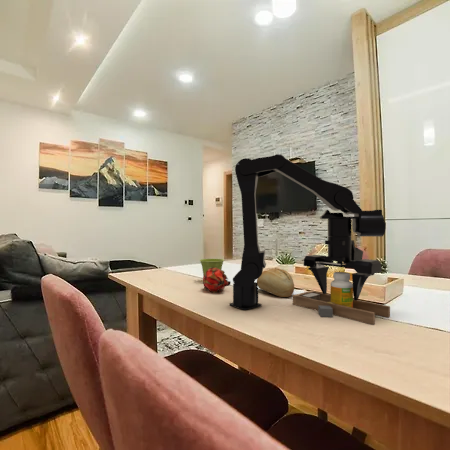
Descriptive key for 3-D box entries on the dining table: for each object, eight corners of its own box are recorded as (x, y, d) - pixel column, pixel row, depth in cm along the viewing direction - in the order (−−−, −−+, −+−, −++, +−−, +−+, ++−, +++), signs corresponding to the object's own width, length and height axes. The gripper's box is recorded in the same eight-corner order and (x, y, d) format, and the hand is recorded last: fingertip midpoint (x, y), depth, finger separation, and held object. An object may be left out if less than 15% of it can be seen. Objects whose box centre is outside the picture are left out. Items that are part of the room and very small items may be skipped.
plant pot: (202, 279, 120) (202, 258, 120) (225, 280, 119) (225, 258, 119) (197, 284, 111) (197, 261, 111) (222, 284, 110) (222, 261, 110)
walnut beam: (372, 324, 66) (372, 312, 66) (292, 304, 83) (292, 294, 83) (390, 316, 71) (390, 305, 71) (311, 298, 88) (311, 289, 88)
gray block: (332, 317, 71) (332, 308, 71) (320, 316, 71) (320, 308, 71) (329, 313, 74) (329, 305, 74) (318, 313, 74) (318, 305, 74)
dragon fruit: (211, 291, 106) (223, 304, 95) (193, 278, 103) (203, 291, 92) (225, 271, 107) (238, 282, 96) (207, 259, 104) (219, 268, 93)
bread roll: (272, 287, 105) (272, 265, 105) (302, 296, 92) (302, 270, 92) (249, 290, 100) (249, 267, 100) (279, 300, 87) (278, 273, 87)
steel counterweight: (309, 305, 81) (309, 297, 81) (301, 304, 83) (301, 295, 83) (319, 302, 84) (319, 294, 84) (312, 301, 86) (312, 292, 86)
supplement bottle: (342, 315, 73) (342, 275, 73) (326, 309, 78) (326, 272, 78) (357, 312, 75) (357, 273, 75) (340, 306, 80) (340, 270, 80)
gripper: (391, 236, 74) (391, 298, 74) (324, 234, 89) (325, 286, 89) (370, 238, 67) (370, 306, 67) (302, 235, 82) (302, 292, 82)
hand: (339, 296), depth 77 cm, fingers open, 8 cm apart
